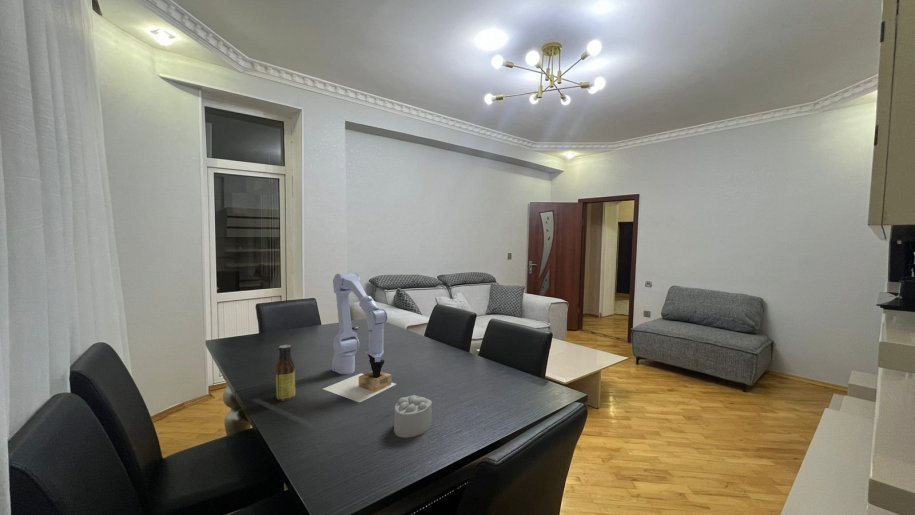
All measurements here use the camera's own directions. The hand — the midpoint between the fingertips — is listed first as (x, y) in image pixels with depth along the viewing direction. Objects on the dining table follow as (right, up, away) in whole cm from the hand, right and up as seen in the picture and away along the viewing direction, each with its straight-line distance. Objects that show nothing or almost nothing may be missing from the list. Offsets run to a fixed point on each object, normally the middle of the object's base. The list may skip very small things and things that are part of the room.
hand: (375, 373), depth 144 cm
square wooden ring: (0, -5, 0) cm, 5 cm away
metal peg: (0, -5, 0) cm, 5 cm away
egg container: (+18, -8, -28) cm, 34 cm away
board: (-6, -6, -1) cm, 8 cm away
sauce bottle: (-30, -6, -12) cm, 33 cm away
